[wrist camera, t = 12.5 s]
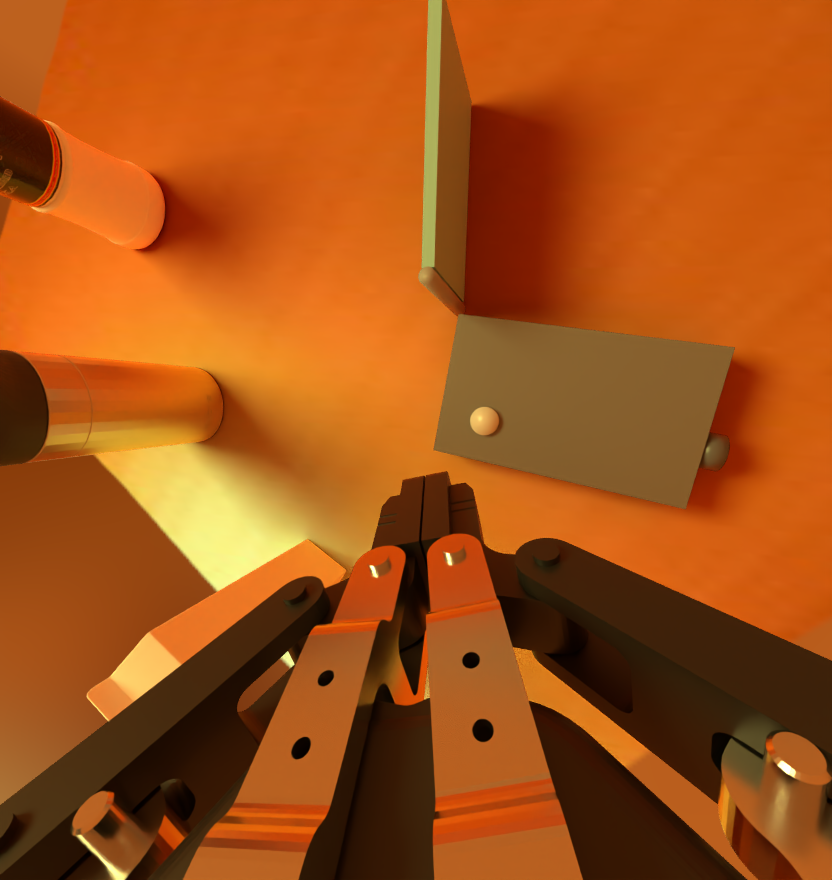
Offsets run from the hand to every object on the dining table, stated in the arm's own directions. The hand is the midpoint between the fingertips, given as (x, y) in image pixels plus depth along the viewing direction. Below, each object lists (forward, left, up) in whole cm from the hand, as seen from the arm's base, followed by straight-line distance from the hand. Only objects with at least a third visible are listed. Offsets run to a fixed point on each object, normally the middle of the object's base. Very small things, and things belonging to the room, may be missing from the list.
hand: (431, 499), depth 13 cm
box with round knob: (+4, +4, -24) cm, 25 cm away
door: (-8, +19, -24) cm, 32 cm away
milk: (-18, -20, -25) cm, 36 cm away
